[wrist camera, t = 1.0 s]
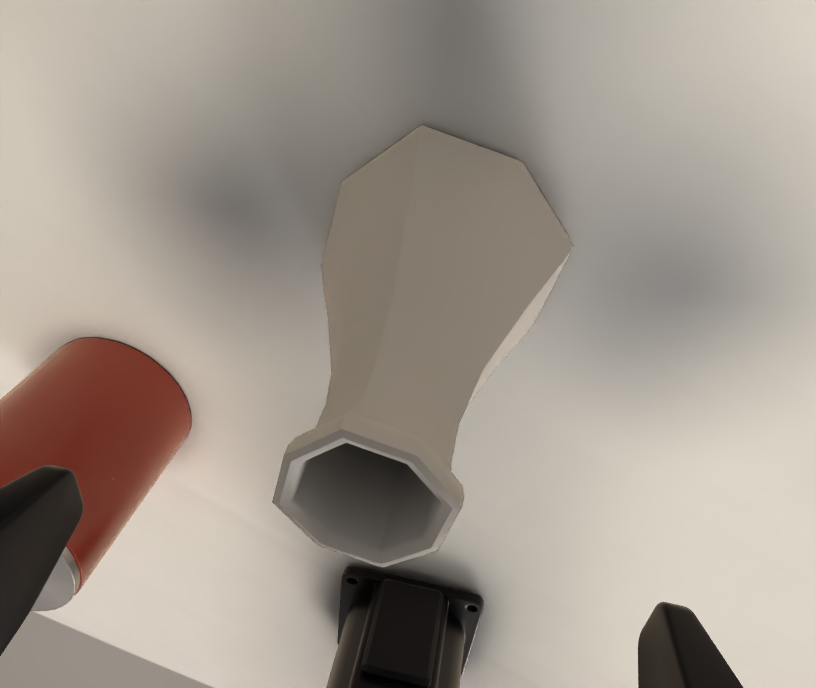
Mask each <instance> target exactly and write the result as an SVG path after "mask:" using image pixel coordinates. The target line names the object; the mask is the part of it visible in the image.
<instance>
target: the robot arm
mask: <svg viewBox="0 0 816 688" xmlns="http://www.w3.org/2000/svg"><path fill="white" fill-rule="evenodd" d="M83 509H84V503H83V499H82V496H81V492H80V489H79V485H78V482H77V478H76V475H75V473H74V472H73V471H72V470H70V469H67V468H63V467H58V466H54V465H45V466H42V467H39V468H37V469H35V470H33V471H31V472H30V473H28V474H26V475H24V476H22V477H20V478H18V479H16V480H14V481H12V482H10V483H8V484H7V485H5V486H3V487H1V488H0V656H1V654H2V653H3V651H4V650H5V648H6V647H7V645H8V644H9V642H10V641H11V639H12V638H13V636H14V635H15V634H16V632H17V630H18V629H19V628H20V626H21V624H22V623H23V621H24V620H25V618H26V616H27V615H28V614H29V612H30V611H31V609H32V607H33V606H34V604H35V602H36V600H37V599H38V597H39V595H40V593H41V592H42V590H43V588H44V586H45V584H46V582H47V580H48V579H49V577H50V575H51V573H52V571H53V569H54V567H55V566H56V564H57V562H58V560H59V558H60V556H61V554H62V553H63V551H64V549H65V547H66V545H67V543H68V542H69V540H70V538H71V536H72V534H73V532H74V530H75V529H76V527H77V525H78V523H79V521H80V519H81V517H82V514H83ZM482 612H483V599H482V598H481V597H480V596H478V595H476V594H472V593H468V592H463V591H459V590H454V589H450V588H446V587H441V586H437V585H432V584H428V583H424V582H419V581H415V580H410V579H406V578H402V577H397V576H393V575H388V574H384V573H380V572H375V571H371V570H367V569H362V568H358V567H347V568H346V569H345V571H344V574H343V577H342V585H341V599H340V613H339V627H338V641H337V643H338V649H337V652H336V656H335V659H334V663H333V666H332V670H331V673H330V677H329V680H328V684H327V687H326V688H459V686H460V677H461V675H462V674H463V673H464V669H465V666H466V663H467V660H468V657H469V653H470V650H471V647H472V644H473V641H474V637H475V634H476V631H477V628H478V625H479V622H480V618H481V615H482ZM638 684H639V688H743V686H742V685H741V683H740V682H739V680H738V679H737V677H736V676H735V674H734V673H733V671H732V670H731V668H730V667H729V665H728V664H727V662H726V661H725V659H724V658H723V656H722V655H721V653H720V652H719V650H718V649H717V647H716V646H715V644H714V643H713V641H712V640H711V638H710V637H709V635H708V634H707V632H706V631H705V629H704V628H703V626H702V625H701V623H700V622H699V620H698V619H697V617H696V616H695V614H694V613H693V612H692V611H691V610H690V609H689V608H687V607H684V606H680V605H675V604H671V603H666V602H661V603H659V604H658V605H657V606H656V607H655V609H654V611H653V612H652V614H651V616H650V617H649V619H648V621H647V622H646V624H645V626H644V628H643V629H642V631H641V633H640V637H639V642H638Z"/></svg>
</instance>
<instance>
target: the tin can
mask: <svg viewBox="0 0 816 688" xmlns="http://www.w3.org/2000/svg"><path fill="white" fill-rule="evenodd" d="M190 425H191V414H190V409H189V405H188V403H187V400H186V398H185V396H184V394H183V392H182V390H181V389H180V387H179V386H178V384H177V383H176V382H175V381H174V379H173V378H172V377H171V376H170V375H169V374H168V373H167V372H166V371H165V370H164V369H163V368H162V367H161V366H160V365H159V364H157V363H156V362H155V361H153V360H152V359H151V358H149V357H148V356H146V355H145V354H143V353H141V352H139V351H138V350H136V349H134V348H131V347H129V346H127V345H124V344H122V343H119V342H115V341H111V340H107V339H100V338H83V339H78V340H74V341H71V342H69V343H67V344H65V345H63V346H62V347H61V348H59V349H58V350H57V351H56V352H55V353H54V354H52V355H51V356H50V357H49V358H48V359H47V360H46V361H44V362H43V363H42V364H41V365H40V366H39V367H37V368H36V369H35V370H34V371H33V372H32V373H31V374H29V375H28V376H27V377H26V378H25V379H24V380H22V381H21V382H20V383H19V384H18V385H17V386H16V387H14V388H13V389H12V390H11V391H10V392H9V393H7V394H6V395H5V396H4V397H3V398H2V399H0V488H1V487H3V486H5V485H7V484H8V483H10V482H12V481H14V480H16V479H18V478H20V477H22V476H24V475H26V474H28V473H30V472H31V471H33V470H35V469H37V468H39V467H42V466H45V465H54V466H58V467H63V468H67V469H70V470H72V471H73V472H74V473H75V475H76V478H77V482H78V485H79V489H80V492H81V496H82V499H83V503H84V509H83V514H82V517H81V519H80V521H79V523H78V525H77V527H76V529H75V530H74V532H73V534H72V536H71V538H70V540H69V542H68V543H67V545H66V547H65V549H64V551H63V553H62V554H61V556H60V558H59V560H58V562H57V564H56V566H55V567H54V569H53V571H52V573H51V575H50V577H49V579H48V580H47V582H46V584H45V586H44V588H43V590H42V592H41V593H40V595H39V597H38V599H37V600H36V602H35V604H34V606H33V607H32V609H31V611H49V610H54V609H57V608H60V607H62V606H64V605H65V604H67V603H68V602H69V601H70V600H71V599H72V598H73V596H74V595H76V594H77V593H78V592H79V590H80V589H81V587H82V586H83V585H84V583H85V582H86V580H87V579H88V578H89V576H90V575H91V573H92V572H93V570H94V569H95V568H96V566H97V565H98V563H99V562H100V560H101V559H102V558H103V556H104V555H105V553H106V552H107V550H108V549H109V548H110V546H111V545H112V543H113V542H114V540H115V539H116V538H117V536H118V535H119V533H120V532H121V530H122V529H123V528H124V526H125V525H126V523H127V522H128V520H129V519H130V518H131V516H132V515H133V513H134V512H135V511H136V509H137V508H138V506H139V505H140V503H141V502H142V501H143V499H144V498H145V496H146V495H147V493H148V492H149V491H150V489H151V488H152V486H153V485H154V483H155V482H156V481H157V479H158V478H159V476H160V475H161V473H162V472H163V471H164V469H165V468H166V466H167V465H168V463H169V462H170V461H171V459H172V458H173V456H174V455H175V453H176V452H177V451H178V449H179V448H180V446H181V445H182V444H183V442H184V441H185V439H186V437H187V436H188V433H189V430H190Z"/></svg>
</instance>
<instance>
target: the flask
mask: <svg viewBox="0 0 816 688" xmlns="http://www.w3.org/2000/svg"><path fill="white" fill-rule="evenodd" d="M573 247H574V245H573V243H572V242H571V240H570V238H569V237H568V235H567V233H566V232H565V230H564V229H563V227H562V225H561V224H560V222H559V220H558V219H557V217H556V216H555V214H554V212H553V211H552V209H551V207H550V206H549V204H548V203H547V201H546V199H545V198H544V196H543V194H542V193H541V191H540V190H539V188H538V186H537V185H536V183H535V181H534V180H533V178H532V177H531V175H530V173H529V172H528V170H527V168H526V167H525V165H524V164H523V162H522V161H519V160H516V159H514V158H511V157H508V156H505V155H503V154H500V153H497V152H495V151H492V150H489V149H486V148H484V147H481V146H478V145H475V144H473V143H470V142H467V141H464V140H462V139H459V138H456V137H453V136H451V135H448V134H445V133H443V132H440V131H437V130H434V129H432V128H429V127H426V126H423V125H420V126H419V127H418V128H416V129H415V130H413V131H412V132H411V133H409V134H408V135H406V136H405V137H404V138H402V139H401V140H399V141H398V142H397V143H395V144H394V145H392V146H391V147H389V148H388V149H387V150H385V151H384V152H382V153H381V154H380V155H378V156H377V157H375V158H374V159H373V160H371V161H370V162H368V163H367V164H366V165H364V166H363V167H361V168H360V169H359V170H357V171H356V172H354V173H353V174H352V175H350V176H349V177H347V178H346V179H344V180H343V181H342V182H341V186H340V190H339V194H338V198H337V202H336V206H335V211H334V215H333V219H332V223H331V227H330V231H329V235H328V240H327V244H326V248H325V252H324V256H323V260H322V264H321V267H322V280H323V287H324V294H325V301H326V308H327V314H328V327H329V342H330V358H331V373H332V374H331V379H330V384H329V390H328V395H327V400H326V405H325V407H324V410H323V412H322V414H321V417H320V419H319V421H318V424H317V425H316V427H315V428H314V429H312V430H310V431H308V432H306V433H304V434H302V435H300V436H298V437H296V438H295V439H294V440H293V441H292V442H291V443H290V444H289V445H288V447H287V450H286V452H285V455H284V458H283V462H282V466H281V470H280V474H279V478H278V482H277V486H276V490H275V494H274V497H273V501H272V502H273V503H274V504H275V505H276V506H277V507H278V508H279V509H280V510H281V511H282V512H283V513H284V514H285V515H286V516H288V517H289V518H290V519H291V520H292V521H293V522H294V523H295V524H296V525H297V526H298V527H299V528H300V529H301V530H302V531H303V532H304V533H305V534H306V535H307V536H309V537H310V538H311V539H312V540H313V541H314V542H315V543H316V544H317V545H318V546H321V547H324V548H327V549H330V550H333V551H336V552H338V553H341V554H344V555H347V556H350V557H353V558H356V559H358V560H361V561H364V562H367V563H370V564H373V565H376V566H378V567H381V568H383V567H386V566H390V565H393V564H396V563H399V562H403V561H406V560H409V559H412V558H415V557H419V556H422V555H425V554H428V553H432V552H435V551H438V549H439V548H440V546H441V544H442V542H443V540H444V539H445V537H446V535H447V533H448V531H449V530H450V528H451V526H452V524H453V522H454V521H455V519H456V517H457V515H458V513H459V512H460V510H461V508H462V505H463V501H464V492H463V486H462V484H461V483H460V482H459V481H458V479H457V478H456V477H455V476H454V475H453V474H452V472H451V462H452V457H453V452H454V446H455V441H456V436H457V431H458V426H459V423H460V421H461V418H462V416H463V414H464V412H465V409H466V407H467V405H468V404H469V403H470V401H471V400H472V399H473V398H474V396H475V395H476V394H477V392H478V391H479V390H480V388H481V387H482V386H483V385H484V383H485V382H486V381H487V379H488V378H489V377H490V375H491V374H492V373H493V372H494V370H495V369H496V368H497V366H498V365H499V364H500V363H501V362H502V361H503V359H504V358H505V357H506V356H507V355H508V354H509V353H510V352H511V350H512V349H513V348H514V347H515V346H516V345H517V344H518V343H519V341H520V340H521V339H522V338H523V337H524V336H525V335H526V333H527V332H528V331H529V329H530V328H531V327H532V326H533V324H534V322H535V320H536V318H537V317H538V315H539V313H540V311H541V309H542V307H543V305H544V303H545V301H546V299H547V297H548V295H549V293H550V291H551V290H552V288H553V286H554V284H555V282H556V280H557V278H558V276H559V274H560V272H561V270H562V268H563V266H564V264H565V263H566V261H567V259H568V257H569V255H570V253H571V251H572V249H573Z"/></svg>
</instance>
